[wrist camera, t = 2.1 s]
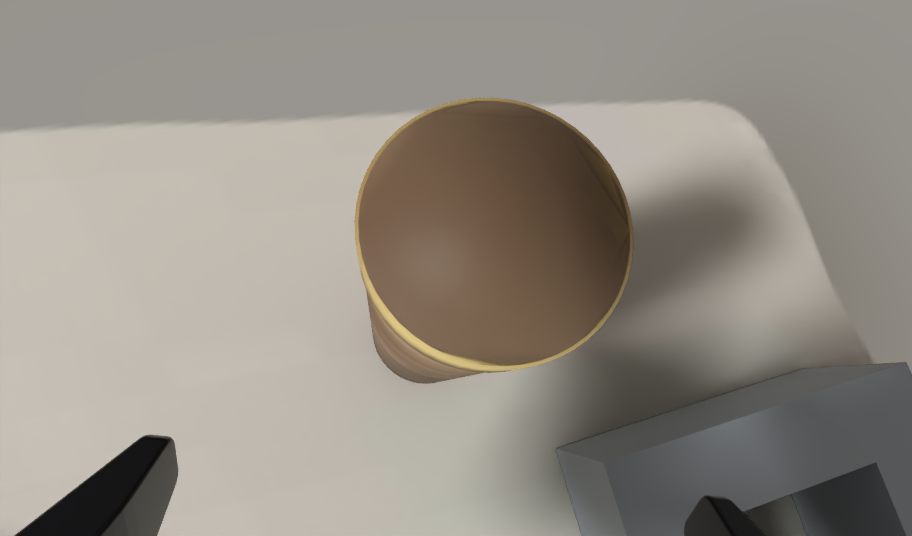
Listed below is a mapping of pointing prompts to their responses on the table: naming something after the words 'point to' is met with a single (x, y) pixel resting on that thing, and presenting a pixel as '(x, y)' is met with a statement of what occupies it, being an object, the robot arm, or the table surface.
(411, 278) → the peg
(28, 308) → the table surface
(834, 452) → the socket block
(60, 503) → the robot arm
